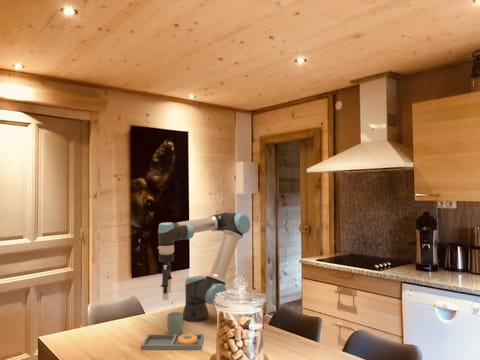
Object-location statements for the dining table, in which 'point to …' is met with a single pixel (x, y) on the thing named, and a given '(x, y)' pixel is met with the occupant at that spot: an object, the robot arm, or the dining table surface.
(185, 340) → the orange round thick disc
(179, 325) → the cup
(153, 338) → the tray
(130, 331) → the dining table surface
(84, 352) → the dining table surface
